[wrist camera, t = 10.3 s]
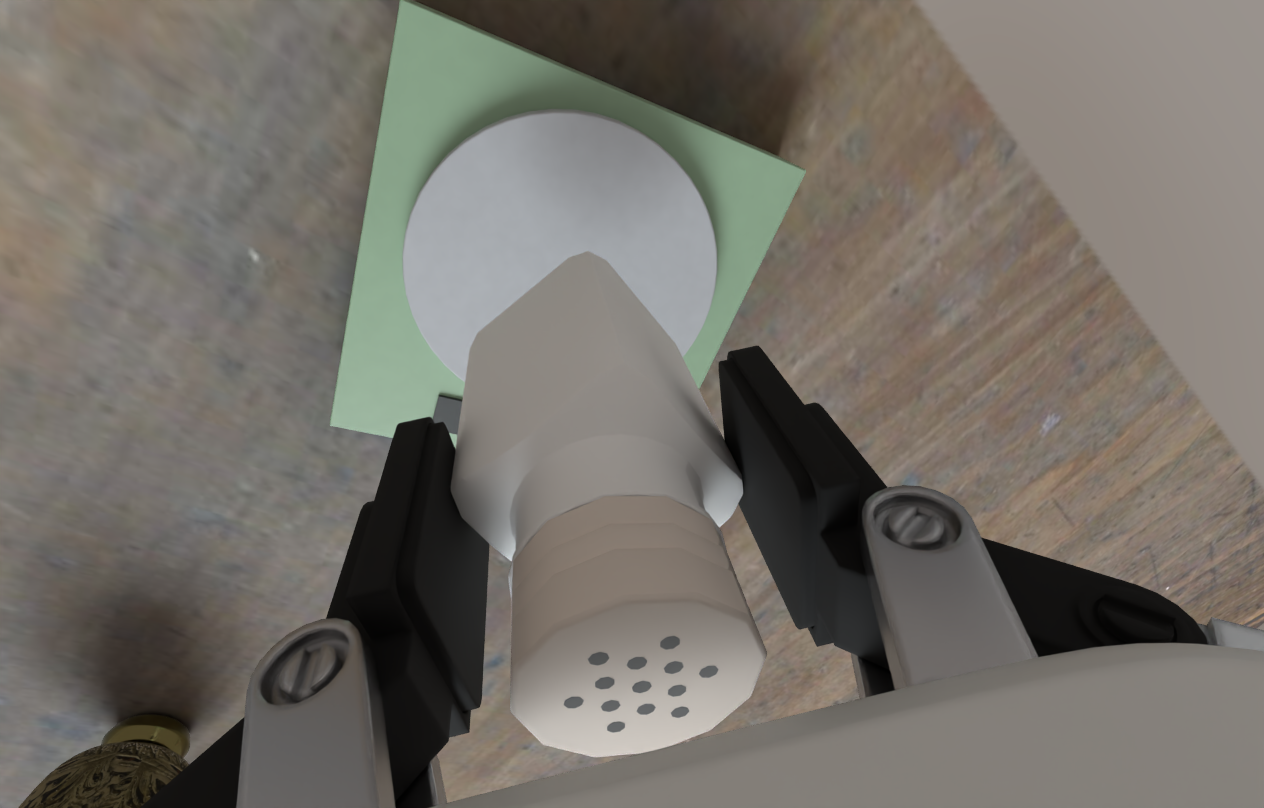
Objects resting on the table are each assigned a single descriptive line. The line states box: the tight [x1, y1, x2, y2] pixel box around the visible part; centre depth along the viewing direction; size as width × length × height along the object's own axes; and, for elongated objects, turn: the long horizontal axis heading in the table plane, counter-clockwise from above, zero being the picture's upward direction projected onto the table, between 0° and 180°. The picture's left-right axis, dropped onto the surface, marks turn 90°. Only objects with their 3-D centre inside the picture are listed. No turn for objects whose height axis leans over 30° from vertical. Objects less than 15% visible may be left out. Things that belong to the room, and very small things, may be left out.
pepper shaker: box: [451, 251, 767, 757], centre depth 11 cm, size 4×4×10 cm
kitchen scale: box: [330, 0, 806, 449], centre depth 20 cm, size 13×12×3 cm
